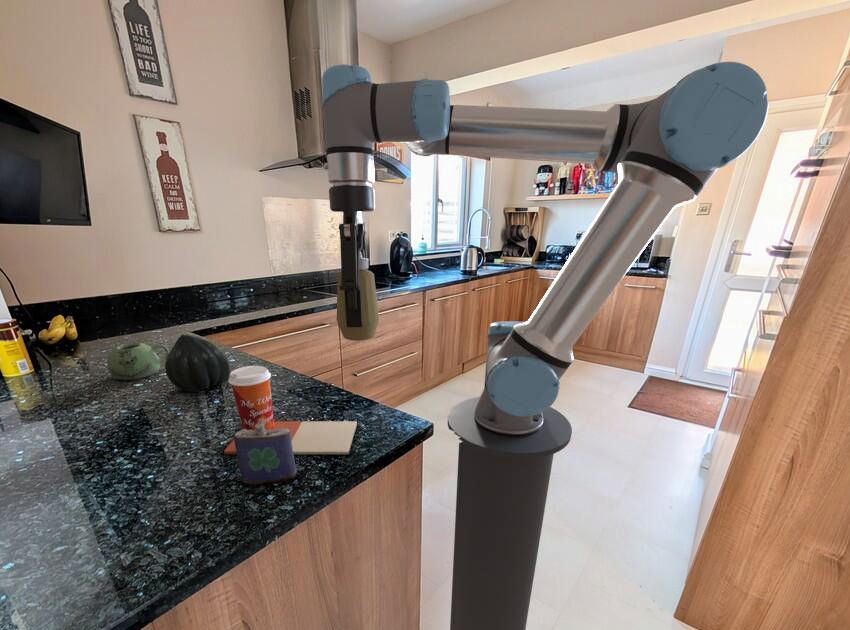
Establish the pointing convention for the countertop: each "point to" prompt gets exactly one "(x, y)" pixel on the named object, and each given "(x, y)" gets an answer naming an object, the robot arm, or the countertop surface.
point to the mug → (134, 361)
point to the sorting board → (315, 436)
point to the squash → (196, 364)
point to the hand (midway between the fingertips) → (358, 320)
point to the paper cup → (253, 396)
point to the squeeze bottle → (367, 301)
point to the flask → (265, 454)
